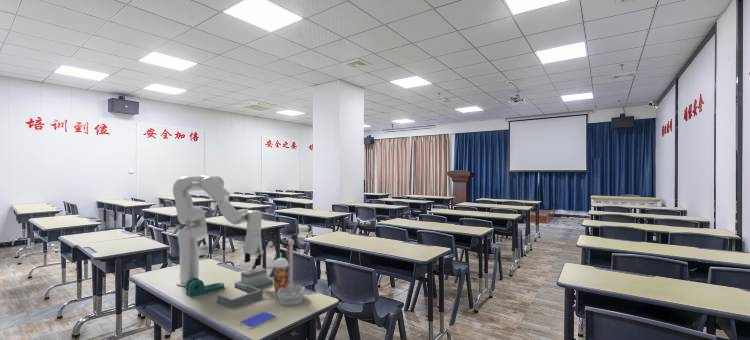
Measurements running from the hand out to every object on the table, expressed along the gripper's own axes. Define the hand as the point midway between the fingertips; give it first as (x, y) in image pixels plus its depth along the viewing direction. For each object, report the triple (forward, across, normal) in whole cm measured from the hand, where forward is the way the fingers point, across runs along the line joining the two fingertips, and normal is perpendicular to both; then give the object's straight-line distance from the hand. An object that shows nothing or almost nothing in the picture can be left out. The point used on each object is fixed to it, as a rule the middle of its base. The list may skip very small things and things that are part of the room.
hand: (252, 263), depth 194 cm
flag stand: (+11, +35, -2) cm, 37 cm away
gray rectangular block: (+11, +1, +1) cm, 11 cm away
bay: (+12, +14, -16) cm, 24 cm away
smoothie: (+11, +20, +4) cm, 23 cm away
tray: (+12, +1, +1) cm, 12 cm away
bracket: (+13, -11, -20) cm, 26 cm away
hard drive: (+12, +42, -26) cm, 50 cm away
